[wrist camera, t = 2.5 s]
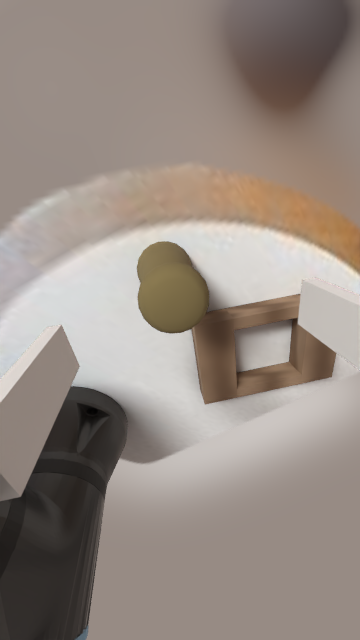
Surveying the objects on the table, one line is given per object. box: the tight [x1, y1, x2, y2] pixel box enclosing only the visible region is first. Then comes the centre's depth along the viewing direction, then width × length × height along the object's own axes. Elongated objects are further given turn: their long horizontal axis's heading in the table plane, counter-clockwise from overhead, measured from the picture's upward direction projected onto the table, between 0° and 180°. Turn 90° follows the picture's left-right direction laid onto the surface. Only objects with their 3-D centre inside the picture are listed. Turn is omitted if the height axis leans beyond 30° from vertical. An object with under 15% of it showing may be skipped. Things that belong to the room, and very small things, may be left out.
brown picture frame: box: [192, 294, 336, 404], centre depth 29 cm, size 18×12×3 cm, turn 100°
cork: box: [137, 242, 209, 333], centre depth 20 cm, size 6×6×11 cm
